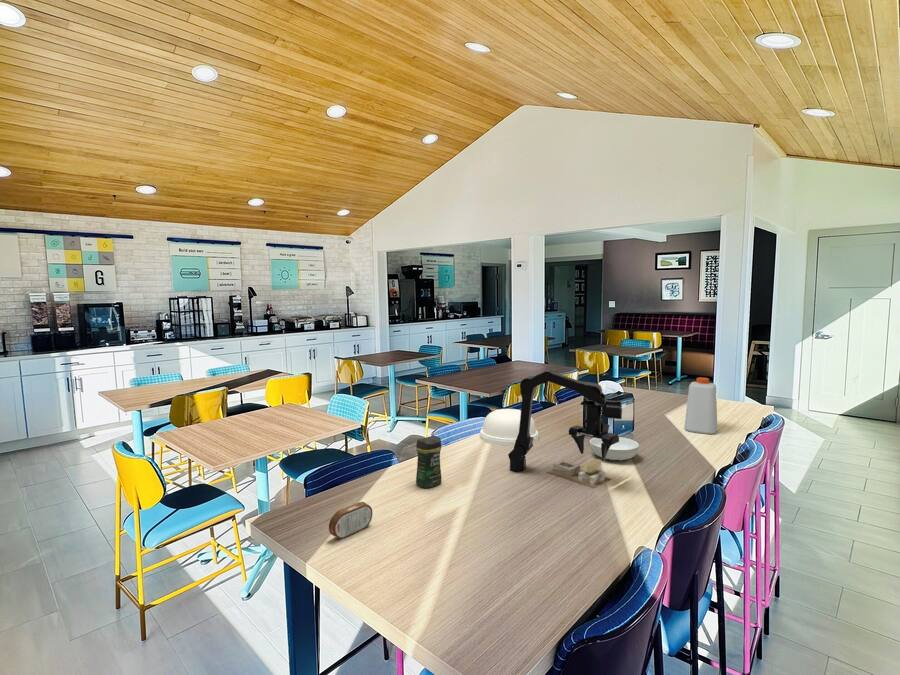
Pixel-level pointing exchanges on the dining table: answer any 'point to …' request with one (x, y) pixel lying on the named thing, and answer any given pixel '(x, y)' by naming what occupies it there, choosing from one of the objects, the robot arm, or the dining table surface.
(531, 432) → the dome cover
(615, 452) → the serving bowl
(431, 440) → the coffee jar
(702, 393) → the plastic bottle
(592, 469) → the gold rectangular bar
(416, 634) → the dining table surface
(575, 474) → the board
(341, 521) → the tin
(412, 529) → the dining table surface
